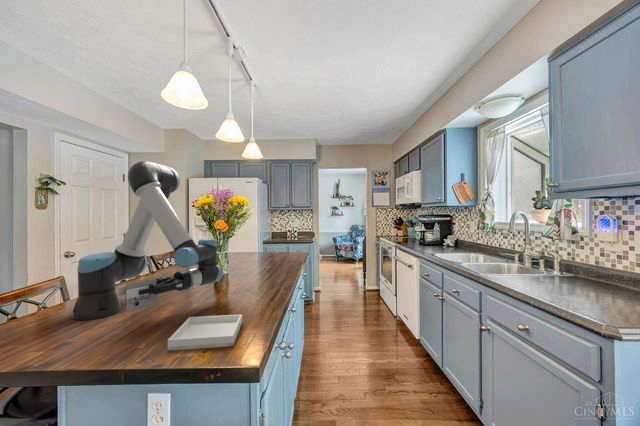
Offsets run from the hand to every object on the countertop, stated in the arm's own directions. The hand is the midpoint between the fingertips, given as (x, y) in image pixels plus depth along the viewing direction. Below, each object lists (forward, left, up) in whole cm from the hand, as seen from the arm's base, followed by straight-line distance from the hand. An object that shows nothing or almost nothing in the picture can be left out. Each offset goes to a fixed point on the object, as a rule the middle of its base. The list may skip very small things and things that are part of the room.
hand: (122, 293), depth 91 cm
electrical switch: (-4, +3, -6) cm, 8 cm away
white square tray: (+6, +29, -13) cm, 32 cm away
